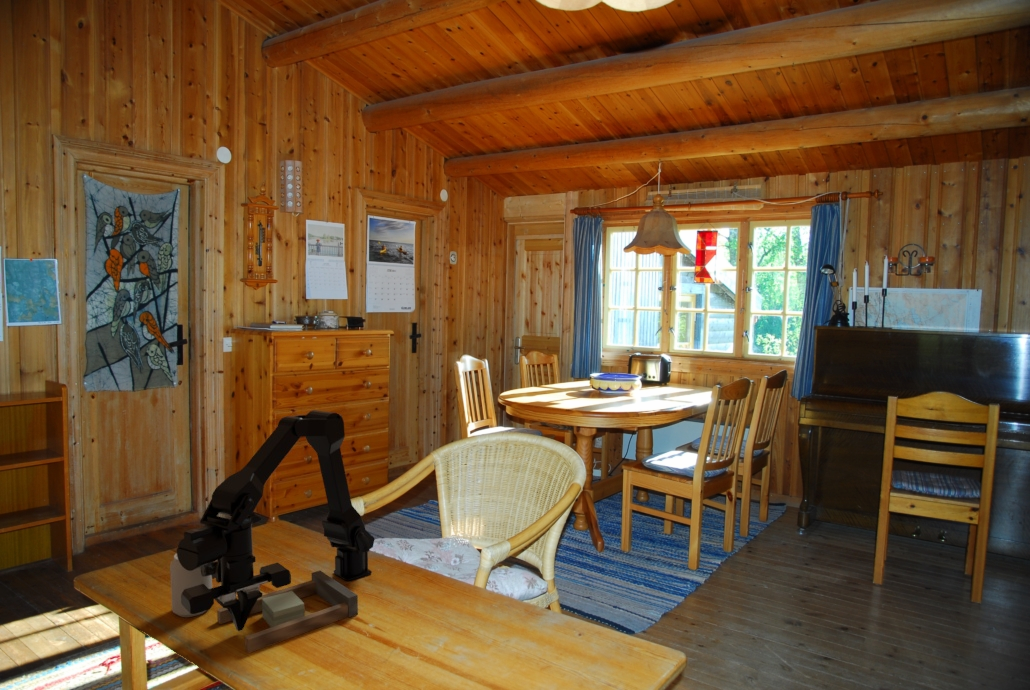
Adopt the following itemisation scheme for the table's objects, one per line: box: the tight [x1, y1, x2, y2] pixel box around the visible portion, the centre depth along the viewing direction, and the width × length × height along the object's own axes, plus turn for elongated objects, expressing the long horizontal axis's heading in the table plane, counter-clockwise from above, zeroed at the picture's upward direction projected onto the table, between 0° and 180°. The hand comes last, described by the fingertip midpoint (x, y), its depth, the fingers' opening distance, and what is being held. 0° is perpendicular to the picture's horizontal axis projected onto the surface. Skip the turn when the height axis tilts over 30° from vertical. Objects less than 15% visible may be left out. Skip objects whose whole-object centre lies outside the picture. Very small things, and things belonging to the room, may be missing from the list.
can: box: [169, 552, 213, 618], centre depth 140 cm, size 8×8×12 cm
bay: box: [216, 570, 359, 654], centre depth 137 cm, size 22×16×4 cm
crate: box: [261, 591, 306, 628], centre depth 137 cm, size 6×7×4 cm
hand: (239, 629), depth 131 cm, fingers closed
